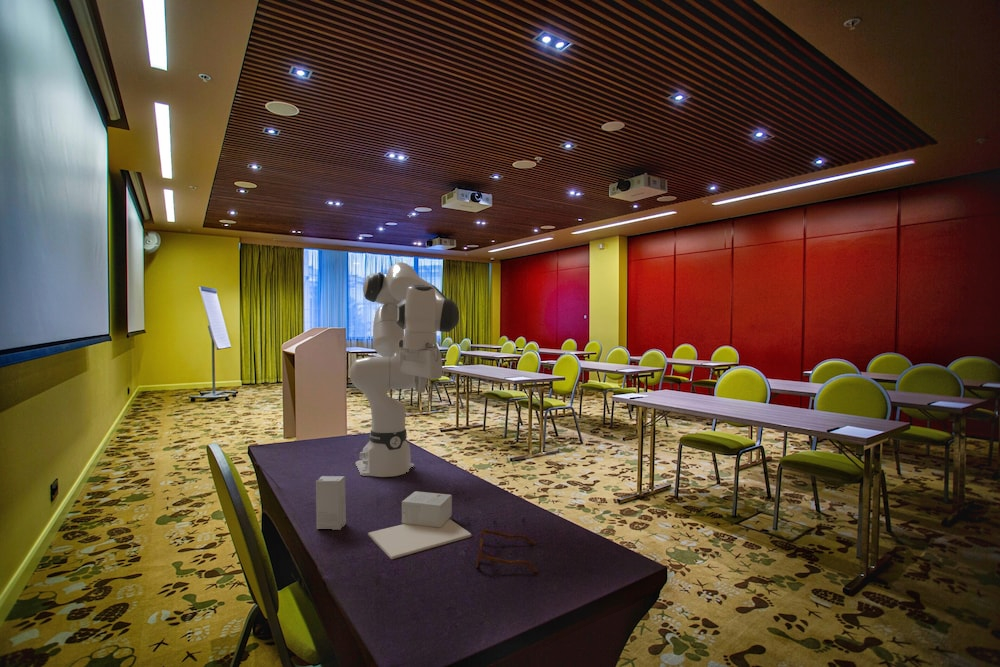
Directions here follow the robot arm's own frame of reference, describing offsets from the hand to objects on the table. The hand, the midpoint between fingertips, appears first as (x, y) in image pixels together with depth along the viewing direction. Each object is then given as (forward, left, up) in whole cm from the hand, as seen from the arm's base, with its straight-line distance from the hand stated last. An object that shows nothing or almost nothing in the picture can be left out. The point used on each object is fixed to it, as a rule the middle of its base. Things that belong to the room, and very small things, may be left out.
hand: (419, 392), depth 133 cm
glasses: (+39, +2, -32) cm, 51 cm away
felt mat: (+19, -9, -31) cm, 38 cm away
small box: (+9, -7, -28) cm, 30 cm away
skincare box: (+3, -25, -31) cm, 40 cm away
